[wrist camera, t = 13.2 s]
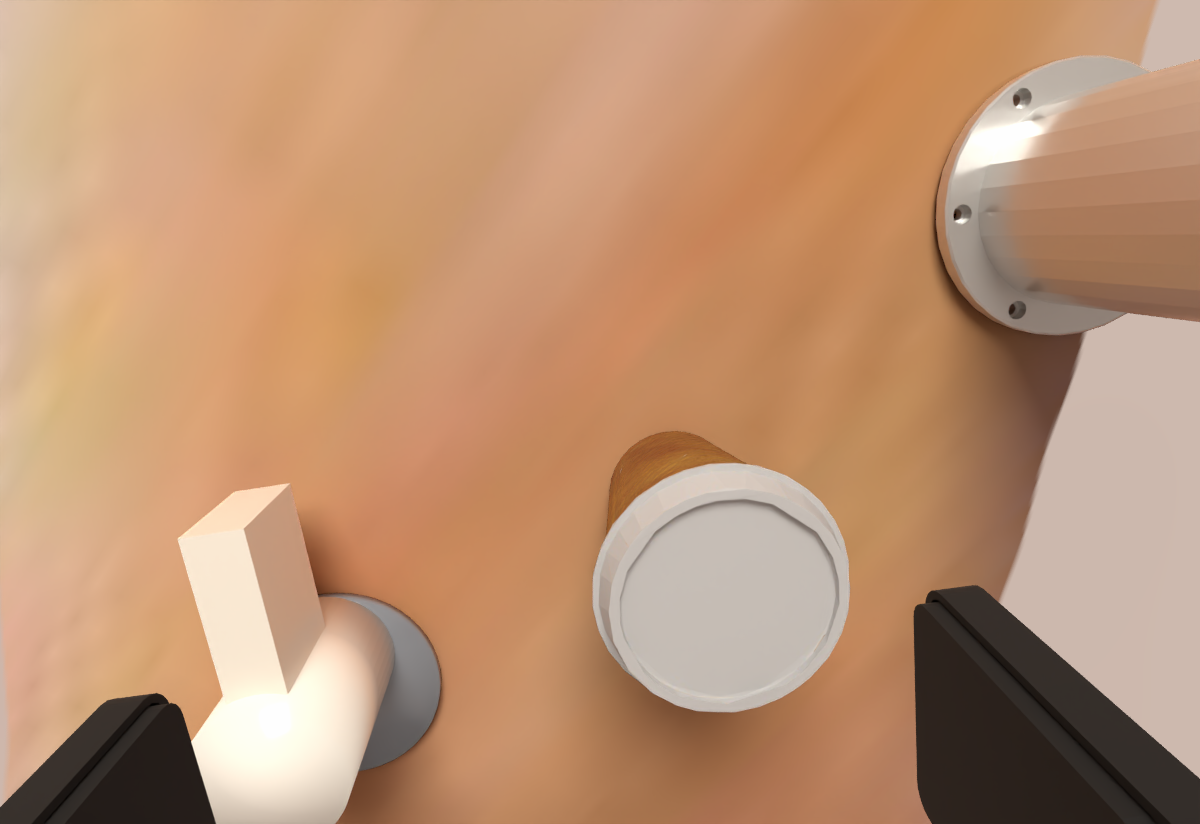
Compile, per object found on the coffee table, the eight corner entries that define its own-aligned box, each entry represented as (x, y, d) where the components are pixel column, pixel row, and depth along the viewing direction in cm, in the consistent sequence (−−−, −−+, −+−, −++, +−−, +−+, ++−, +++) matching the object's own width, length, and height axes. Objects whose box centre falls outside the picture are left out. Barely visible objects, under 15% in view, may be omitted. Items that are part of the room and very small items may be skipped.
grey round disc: (423, 580, 37) (422, 585, 37) (454, 749, 40) (453, 756, 39) (223, 607, 37) (218, 613, 36) (267, 777, 39) (263, 785, 39)
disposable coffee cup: (559, 560, 38) (568, 704, 26) (601, 381, 36) (630, 450, 24) (736, 591, 39) (819, 742, 27) (785, 420, 37) (898, 503, 25)
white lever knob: (405, 699, 38) (366, 836, 29) (281, 720, 38) (203, 864, 29) (351, 457, 35) (289, 530, 26) (215, 478, 35) (106, 558, 26)
